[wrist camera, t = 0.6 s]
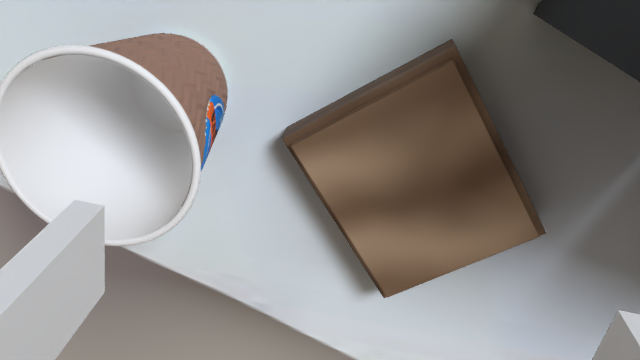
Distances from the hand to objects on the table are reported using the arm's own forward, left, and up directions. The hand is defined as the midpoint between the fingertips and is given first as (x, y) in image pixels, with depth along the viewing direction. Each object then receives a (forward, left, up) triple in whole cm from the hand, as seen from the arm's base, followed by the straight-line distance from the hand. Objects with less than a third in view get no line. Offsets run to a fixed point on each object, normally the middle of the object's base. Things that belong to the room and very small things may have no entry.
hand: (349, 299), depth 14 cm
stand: (+8, -1, -23) cm, 25 cm away
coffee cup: (-5, -12, -24) cm, 27 cm away
